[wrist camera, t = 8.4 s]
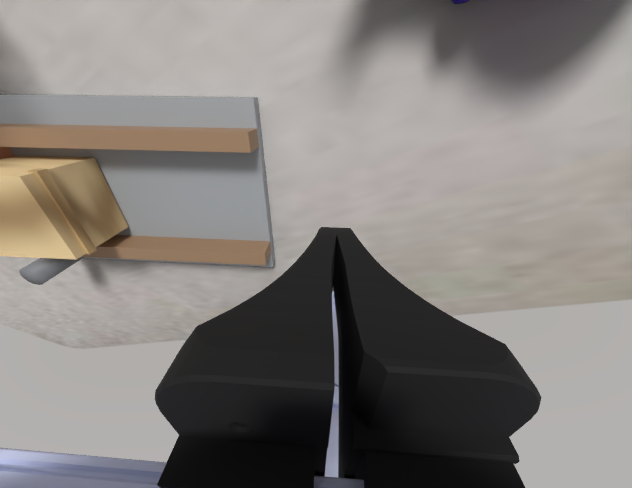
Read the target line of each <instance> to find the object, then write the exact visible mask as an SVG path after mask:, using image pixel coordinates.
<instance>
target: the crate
mask: <svg viewBox="0 0 632 488" xmlns="http://www.w3.org/2000/svg"><path fill="white" fill-rule="evenodd" d="M127 227H128V225H127V222H126V220H125V218H124V216H123V214H122V212H121V210H120V208H119V206H118V204H117V202H116V200H115V198H114V196H113V194H112V192H111V190H110V188H109V186H108V184H107V182H106V180H105V178H104V176H103V174H102V172H101V170H100V168H99V165H98V163H97V161H96V159H95V158H93V157H54V156H17V157H11V158H6V159H0V256H12V257H33V258H54V259H75V260H77V259H78V258H80V257H82V256H83V255H85V254H91V253H93V252H94V251H96V250H97V249H96V247H97V246H99V245H100V244H102V243H104V242H105V241H107V240H108V239H110V238H112V237H113V236H115V235H116V234H118V233H119V232H121V231H123V230H124V229H126V228H127Z"/></svg>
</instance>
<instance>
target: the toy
mask: <svg viewBox="0 0 632 488" xmlns="http://www.w3.org/2000/svg"><path fill="white" fill-rule="evenodd" d="M452 1H453V3H455V4H460V3H464V2H467V1H469V0H452Z"/></svg>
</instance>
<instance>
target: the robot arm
mask: <svg viewBox="0 0 632 488" xmlns="http://www.w3.org/2000/svg"><path fill="white" fill-rule="evenodd" d="M333 289H334V291H332V290H333ZM155 401H156V404H157V406H158V407H159V410H160V411H161V413H162V414H163V415H164V417H166V419H167V420H168V421H169V422H170V424H171V425H172V426H173V428H174V429H175V430H176V431H177V433H178V434H179V437H178V439H177V441H176V444H175V446H174V448H173V450H172V452H171V455H170V457H169V459H168V461H167V463H166V462H155V461H144V460H132V459H120V458H109V457H98V456H87V455H75V454H64V453H53V452H42V451H30V450H18V449H8V448H0V488H525V486H524V484H523V482H522V480H521V478H520V476H519V474H518V472H517V470H516V468H515V466H514V464H516V463H518V462H519V456H518V454H517V452H516V450H515V448H514V446H513V444H512V442H511V440H510V438H509V436H511V435H512V434H513V433H514V432H515V431H517V430H518V429H519V428H520V427H522V426H523V425H524V424H525V423H526V422H528V421H529V420H530V419H531V418H532V417H533V416H534V415H535V414H536V413H537V411H538V409H539V405H540V401H541V396H540V394H539V392H538V390H537V388H536V387H535V385H534V384H533V382H532V381H531V379H530V378H529V377H528V375H527V374H526V372H525V371H524V369H523V368H522V367H521V365H520V364H519V362H518V361H517V359H516V358H515V357H514V355H513V354H512V353H511V351H510V350H509V349H508V347H507V346H506V345H505V344H504V343H502V342H500V341H498V340H496V339H494V338H492V337H490V336H488V335H486V334H484V333H482V332H480V331H478V330H476V329H474V328H472V327H470V326H468V325H466V324H464V323H462V322H460V321H458V320H457V319H455V318H453V317H452V316H450V315H448V314H447V313H445V312H443V311H441V310H440V309H438V308H436V307H435V306H433V305H432V304H430V303H428V302H427V301H425V300H424V299H422V298H421V297H419V296H418V295H417V294H415V293H414V292H412V291H411V290H409V289H408V288H407V287H405V286H404V285H403V284H401V283H400V282H399V281H398V280H397V279H395V278H394V277H393V276H392V275H391V274H389V273H388V272H387V271H386V270H385V269H384V268H383V267H382V266H381V265H380V264H379V263H378V262H377V261H376V260H375V259H374V258H373V257H372V256H371V254H370V253H369V252H368V251H367V250H366V249H365V247H364V246H363V245H362V243H361V242H360V241H359V240H358V238H357V237H356V235H355V234H354V232H353V231H352V230H351V229H350V228H330V227H321V228H320V229H319V231H318V233H317V235H316V236H315V238H314V239H313V241H312V242H311V244H310V245H309V246H308V248H307V249H306V250H305V252H304V253H303V254H302V255H301V256H300V257H299V259H298V260H297V261H296V262H295V263H294V264H293V265H292V266H291V267H290V268H289V269H288V270H287V271H286V272H285V273H284V274H283V275H281V276H280V277H279V278H278V279H277V280H275V281H274V282H273V283H272V284H270V285H269V286H268V287H266V288H265V289H264V290H262V291H261V292H259V293H258V294H256V295H255V296H253V297H251V298H250V299H248V300H246V301H245V302H243V303H241V304H240V305H238V306H236V307H234V308H233V309H231V310H229V311H227V312H225V313H223V314H221V315H219V316H217V317H215V318H213V319H211V320H209V321H207V322H205V323H203V324H201V325H199V326H197V327H196V328H195V330H194V331H193V332H192V334H191V335H190V336H189V338H188V339H187V340H186V342H185V343H184V345H183V346H182V348H181V349H180V351H179V353H178V354H177V356H176V358H175V359H174V361H173V363H172V364H171V366H170V368H169V369H168V371H167V373H166V374H165V376H164V378H163V379H162V381H161V383H160V384H159V386H158V388H157V389H156V392H155ZM513 463H514V464H513Z"/></svg>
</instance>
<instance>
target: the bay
mask: <svg viewBox="0 0 632 488" xmlns="http://www.w3.org/2000/svg"><path fill="white" fill-rule="evenodd" d="M17 156H54V157H93V158H95V159H96V161H97V163H98V165H99V168H100V170H101V172H102V174H103V176H104V178H105V180H106V182H107V184H108V186H109V188H110V190H111V192H112V194H113V196H114V198H115V200H116V202H117V204H118V206H119V208H120V210H121V212H122V214H123V216H124V218H125V220H126V222H127V225H128V227H127V228H126V229H124V230H123V231H121V232H119V233H118V234H116V235H115V236H113V237H112V238H110V239H108V240H107V241H105V242H104V243H102V244H100V245H99V246H97V247H96V249H97V250H96V251H94V252H93V253H91V254H85V255H83V256H82V257H80V258H78V259H77V260H75V259H54V258H40V259H38V260H36V261H35V262H33V263H31V264H29V265H27V266H26V267H24V268H22V269H20V274H21V276H22V277H23V278H24V279H26V280H27V281H29V282H31V283H34V284H38V285H40V284H43V283H45V282H46V281H48V280H49V279H51V278H53V277H54V276H56V275H57V274H59V273H60V272H62V271H63V270H65V269H67V268H68V267H70V266H71V265H73V264H74V263H76V262H77V261H79V260H81V259H82V258H86V259H108V260H129V261H150V262H172V263H193V264H215V265H236V266H257V267H273V266H274V263H275V255H274V246H273V236H272V227H271V218H270V208H269V199H268V190H267V181H266V171H265V162H264V153H263V143H262V134H261V125H260V116H259V106H258V98H254V97H175V96H95V95H16V94H0V159H6V158H11V157H17Z"/></svg>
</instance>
